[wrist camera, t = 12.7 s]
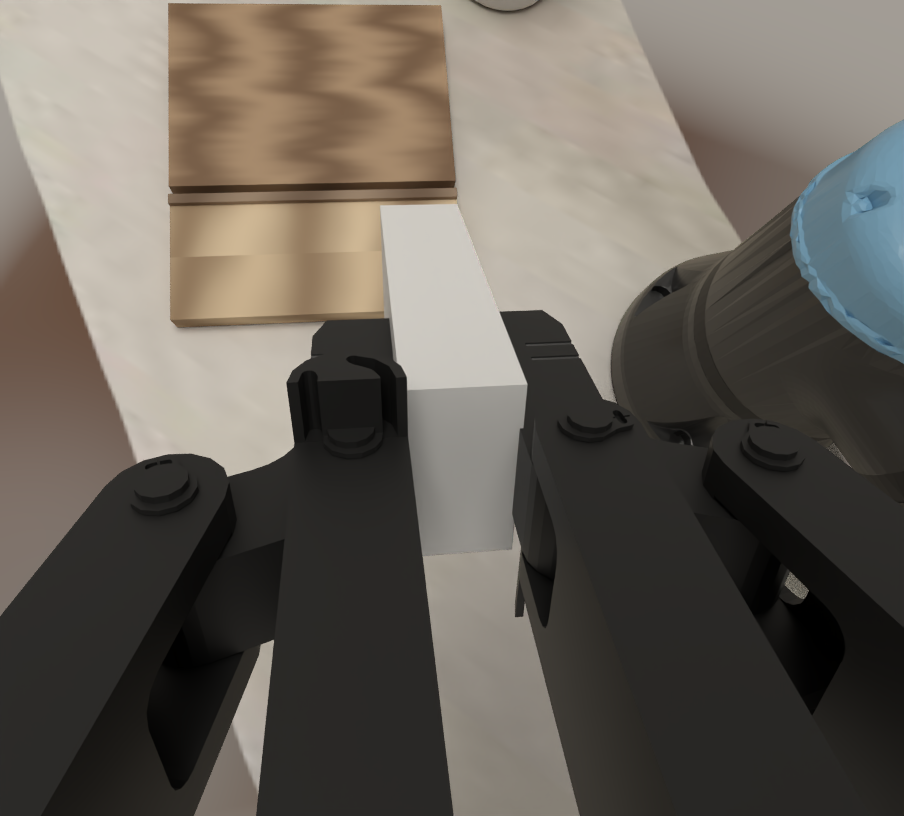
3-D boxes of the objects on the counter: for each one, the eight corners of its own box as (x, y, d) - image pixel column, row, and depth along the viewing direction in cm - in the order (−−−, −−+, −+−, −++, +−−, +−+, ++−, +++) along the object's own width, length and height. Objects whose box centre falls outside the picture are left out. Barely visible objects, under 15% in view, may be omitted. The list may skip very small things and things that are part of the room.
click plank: (453, 191, 47) (439, 21, 49) (455, 180, 45) (441, 5, 48) (175, 197, 45) (175, 20, 47) (168, 186, 43) (168, 3, 46)
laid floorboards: (453, 201, 47) (456, 187, 45) (462, 315, 46) (466, 305, 44) (176, 208, 45) (168, 194, 43) (177, 327, 44) (168, 317, 42)
